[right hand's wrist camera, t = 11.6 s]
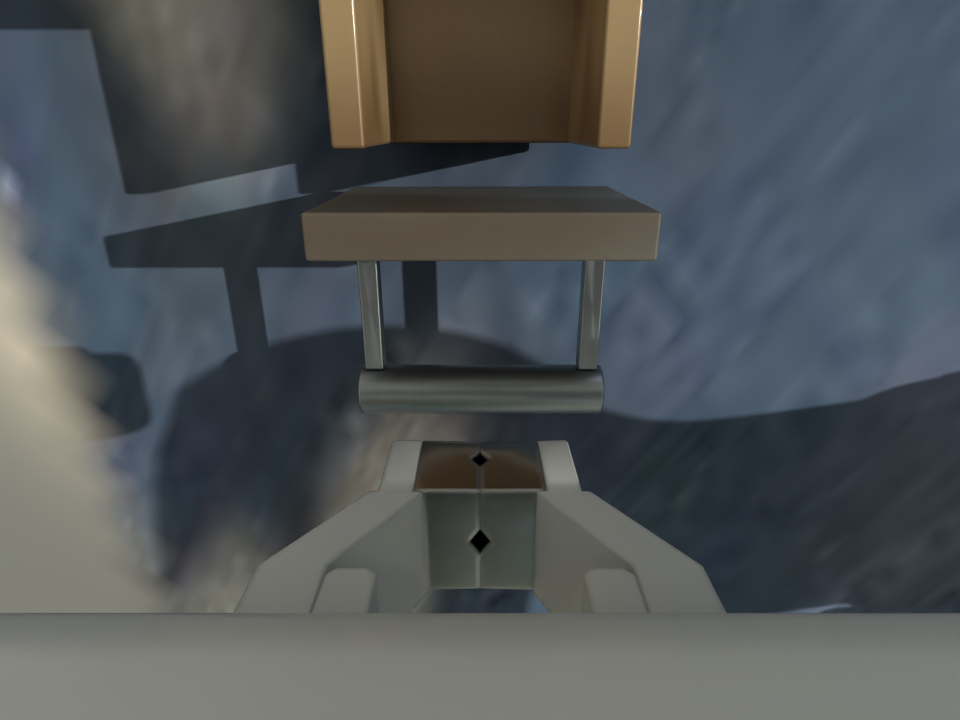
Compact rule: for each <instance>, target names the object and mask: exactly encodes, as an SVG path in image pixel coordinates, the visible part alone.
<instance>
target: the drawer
mask: <svg viewBox="0 0 960 720" xmlns="http://www.w3.org/2000/svg"><path fill="white" fill-rule="evenodd" d="M642 8H643V0H319V11H320V22H321V33H322V45H323V56H324V67H325V78H326V89H327V100H328V112H329V123H330V134H331V145H332V147H333V148H335V149H363V148H368V147H373V146H378V145H384V144H389V143H574V144H579V145H585V146H590V147H595V148H629V147H630V145H631V134H632V123H633V111H634V100H635V88H636V77H637V65H638V54H639V42H640V31H641V19H642ZM301 223H302V232H303V241H304V250H305V258H306V260H307V261H357V268H358V280H359V293H360V305H361V318H362V330H363V343H364V355H365V365H364V366H362V368H361V370H360V374H359V381H358V399H359V406H360V409H361V412H362V413H364V414H471V413H600V412H601V410H602V407H603V403H604V377H603V372H602V369H601V367H600V366H599V365H597V361H598V348H599V336H600V323H601V310H602V297H603V284H604V271H605V261H653V260H656V258H657V251H658V242H659V233H660V224H661V213H660V212H658V211H656V210H654V209H652V208H650V207H648V206H646V205H644V204H642V203H640V202H638V201H635V200H633V199H631V198H629V197H627V196H625V195H623V194H621V193H619V192H617V191H615V190H613V189H611V188H608V187H606V186H596V187H354V188H352V189H350V190H348V191H346V192H344V193H342V194H340V195H338V196H336V197H334V198H332V199H330V200H328V201H326V202H324V203H322V204H320V205H317V206H315V207H313V208H311V209H309V210H307V211H305V212H303V213H301ZM380 261H582V272H581V288H580V304H579V320H578V336H577V352H576V364H577V365H385V364H386V349H385V334H384V319H383V304H382V288H381V273H380Z"/></svg>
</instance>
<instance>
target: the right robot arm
mask: <svg viewBox="0 0 960 720" xmlns="http://www.w3.org/2000/svg"><path fill="white" fill-rule="evenodd" d="M470 588H488V589H525V590H533V593H534V594H535V595H536V596H537V598H538V599H539V600H540V601H541V603H542V604H543V605H544V606H545V607H546V609H547V610H548V611H549V612H550V613H411V612H412V610H413V609H414V608H415V607H416V605H417V604H418V603H419V602H420V601H421V599H422V598H423V597H424V596H425V595H426V593H427V590H434V589H470ZM0 720H960V613H726V611H725V609H724V607H723V605H722V603H721V601H720V599H719V597H718V595H717V593H716V591H715V589H714V587H713V586H712V584H711V582H710V580H709V578H708V576H707V574H706V572H705V570H704V568H703V566H702V565H700V564H699V563H697V562H696V561H694V560H693V559H691V558H690V557H688V556H687V555H685V554H684V553H682V552H681V551H679V550H678V549H676V548H675V547H673V546H672V545H670V544H668V543H667V542H665V541H664V540H662V539H661V538H659V537H658V536H656V535H655V534H653V533H652V532H650V531H649V530H647V529H646V528H644V527H643V526H641V525H640V524H638V523H637V522H635V521H634V520H632V519H631V518H629V517H628V516H626V515H625V514H623V513H622V512H620V511H619V510H617V509H616V508H614V507H613V506H611V505H610V504H608V503H607V502H605V501H604V500H602V499H601V498H599V497H598V496H596V495H595V494H593V493H592V492H590V491H582V490H581V487H580V483H579V480H578V476H577V473H576V469H575V466H574V462H573V459H572V455H571V452H570V448H569V445H568V442H567V441H565V440H553V441H503V442H465V441H422V440H406V441H394V442H393V443H392V444H391V448H390V451H389V455H388V458H387V462H386V466H385V469H384V473H383V476H382V480H381V483H380V487H379V490H378V491H370V492H368V493H367V494H365V495H364V496H362V497H361V498H359V499H358V500H356V501H355V502H353V503H352V504H350V505H349V506H347V507H346V508H344V509H343V510H341V511H340V512H338V513H337V514H335V515H334V516H332V517H331V518H329V519H328V520H326V521H324V522H323V523H321V524H320V525H318V526H317V527H315V528H314V529H312V530H311V531H309V532H308V533H306V534H305V535H303V536H302V537H300V538H299V539H297V540H296V541H294V542H293V543H291V544H290V545H288V546H287V547H285V548H284V549H282V550H281V551H279V552H278V553H276V554H274V555H273V556H271V557H270V558H268V559H267V560H265V561H264V562H262V563H261V564H259V565H258V566H257V568H256V570H255V572H254V574H253V576H252V578H251V580H250V582H249V584H248V586H247V588H246V590H245V592H244V594H243V596H242V598H241V600H240V601H239V603H238V605H237V607H236V609H235V611H234V613H0Z"/></svg>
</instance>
